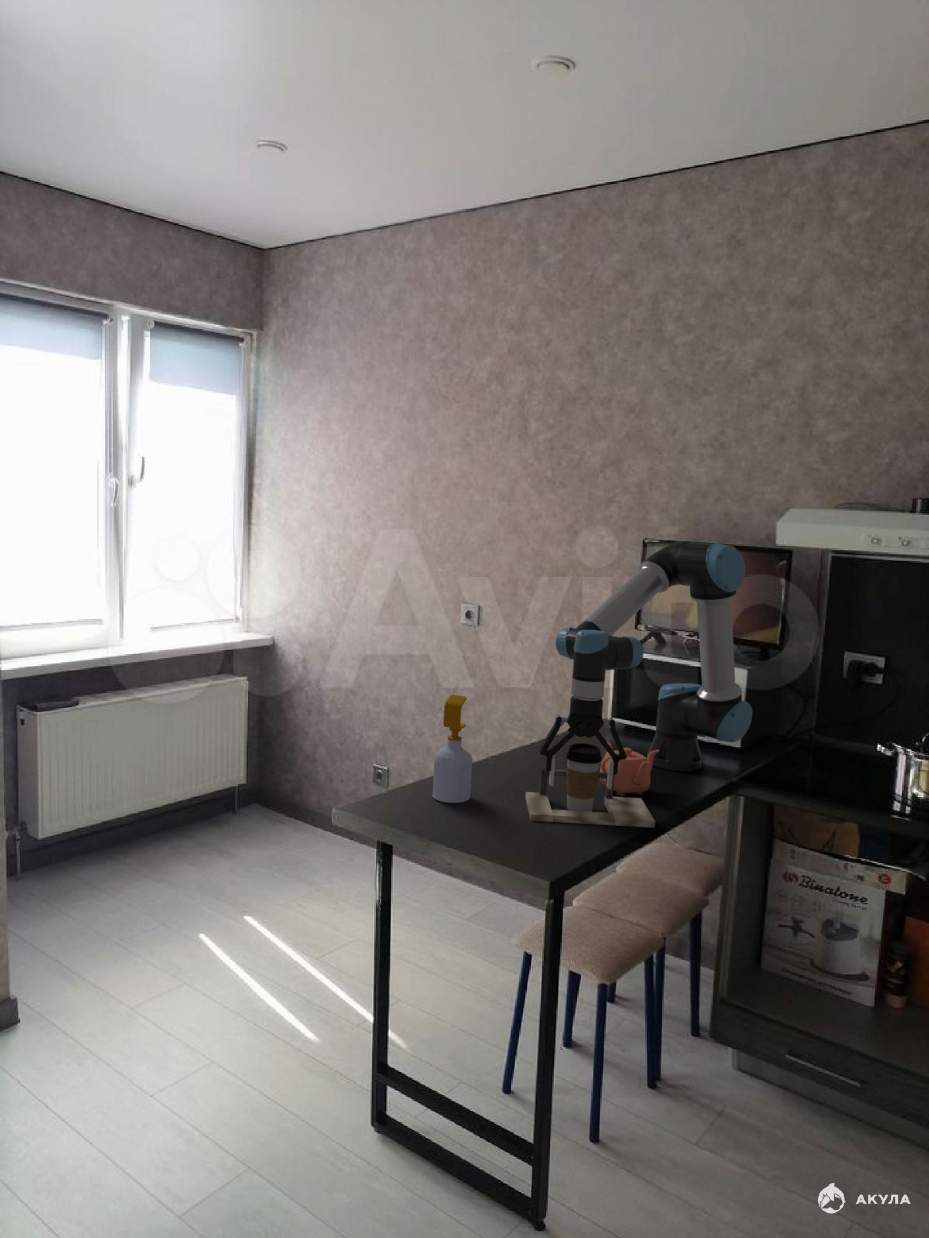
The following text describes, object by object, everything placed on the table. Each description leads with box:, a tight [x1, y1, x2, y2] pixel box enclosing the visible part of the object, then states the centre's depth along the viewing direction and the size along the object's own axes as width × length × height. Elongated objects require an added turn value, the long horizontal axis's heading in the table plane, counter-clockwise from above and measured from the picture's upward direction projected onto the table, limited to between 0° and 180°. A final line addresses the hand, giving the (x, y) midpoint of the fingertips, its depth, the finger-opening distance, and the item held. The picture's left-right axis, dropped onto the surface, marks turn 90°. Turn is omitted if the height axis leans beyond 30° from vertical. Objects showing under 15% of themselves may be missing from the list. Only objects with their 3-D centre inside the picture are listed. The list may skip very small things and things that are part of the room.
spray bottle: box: [431, 694, 473, 804], centre depth 216 cm, size 9×9×25 cm
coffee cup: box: [565, 742, 603, 812], centre depth 213 cm, size 8×8×15 cm
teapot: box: [599, 741, 659, 797], centre depth 230 cm, size 14×14×11 cm
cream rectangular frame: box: [525, 768, 656, 828], centre depth 212 cm, size 28×16×8 cm, turn 90°
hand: (580, 785), depth 213 cm, fingers open, 13 cm apart
